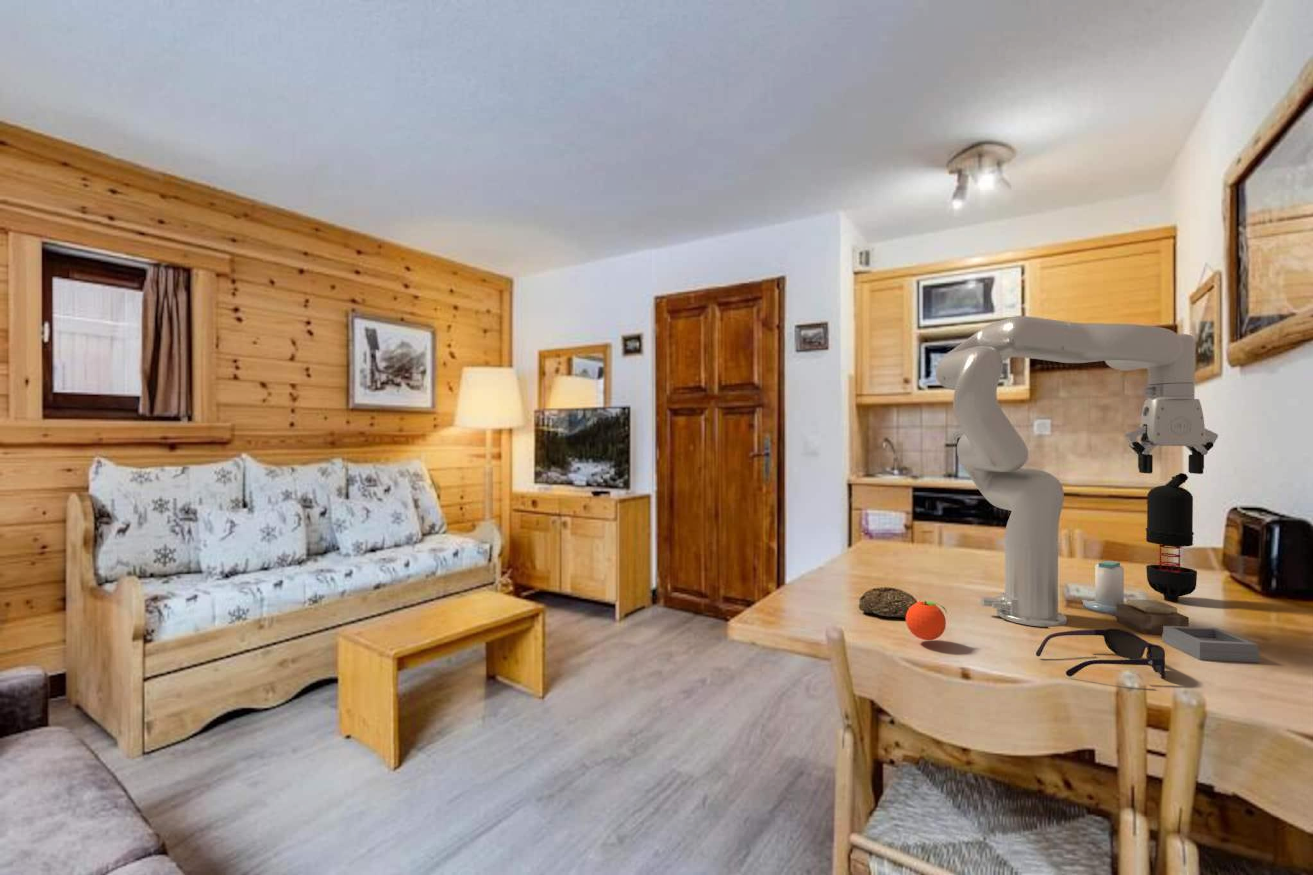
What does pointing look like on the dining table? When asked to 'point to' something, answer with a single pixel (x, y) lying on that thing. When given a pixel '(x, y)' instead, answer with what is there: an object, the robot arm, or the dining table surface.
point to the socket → (1210, 644)
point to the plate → (1099, 607)
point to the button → (1151, 606)
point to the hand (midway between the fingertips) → (1170, 473)
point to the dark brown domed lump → (886, 602)
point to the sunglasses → (1119, 649)
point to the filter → (1170, 537)
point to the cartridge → (1109, 583)
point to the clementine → (926, 620)
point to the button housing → (1148, 619)
